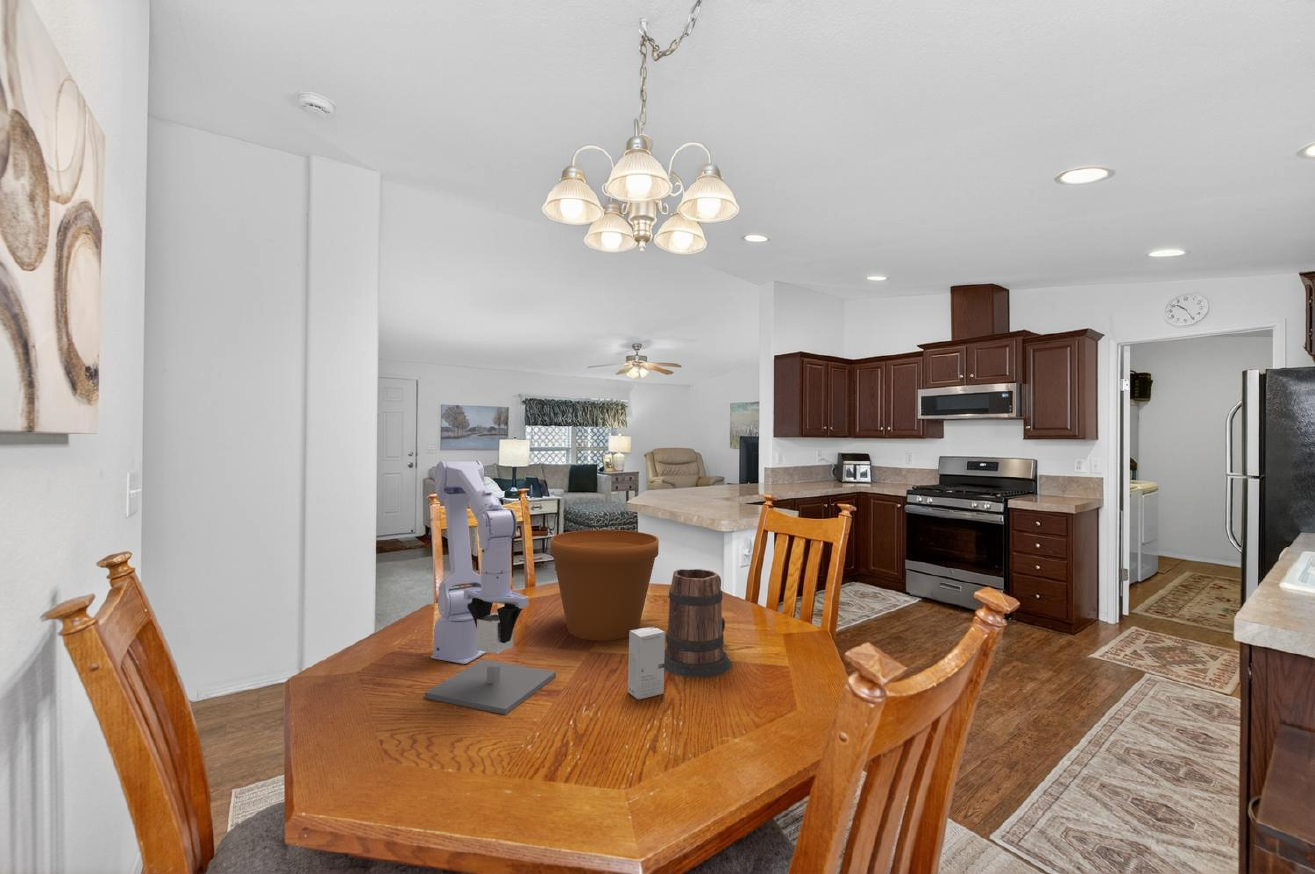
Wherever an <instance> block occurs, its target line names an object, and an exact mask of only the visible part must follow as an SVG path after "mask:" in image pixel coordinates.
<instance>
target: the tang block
mask: <svg viewBox="0 0 1315 874" xmlns="http://www.w3.org/2000/svg"><path fill="white" fill-rule="evenodd" d="M556 677H557V672H556V671H553V670H547V669H541V668H535V667H529V666H523V665H518V664H513V663H512V664H511V663H506V662H499V661H494V660H489V659H481V660H479V661H478V662H476V663H474V664H471V666H469V667H467V668H465V669H464V670H462V671H460V672H458V673H456V674H455V675H453V676H451V677H450V678H448V679H446V680H445V681H443V682H441V683H439V684H437V685H435V686H434V687H432V688H430V689H428V690H426V691H425V692H424V696H423V697H424V699H428V700H433V701H439V702H441V703H442V702H443V703H448V704H452V705H457V706H463V707H467V708H471V709H475V710H482V711H487V712H491V713H496V714H501V715H505V716H506V715H507V714H508V713H510V712H511V711H513V710H514V709H515V708H517V707H518V706H519V705H521V704H522V703H523V702H524V701H526V700H527V699H528V698H530V697H531V696H532V695H534V694H535V693H536V692H538V691H539V690H540V689H542V688H543V687H544V686H546V685H547V684H549V682H551V681H553V680H554V679H555V678H556Z"/></svg>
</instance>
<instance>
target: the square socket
mask: <svg viewBox="0 0 1315 874" xmlns="http://www.w3.org/2000/svg"><path fill="white" fill-rule="evenodd" d="M512 647H514V629H513V632H512V636H511V640H510V641H508V642H506V643H502V642H501V626H500V620H499V615H498V612H491V613H490V614H489V615H487V616H484V617H482V618H479V619H477V648H476V650H480V651H485V652H487V653H490V654H491V653H492V654H493V655H494V654H496V655H498V654H500V653H502V652H504V651H505V650H508V649H510V648H512Z"/></svg>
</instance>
